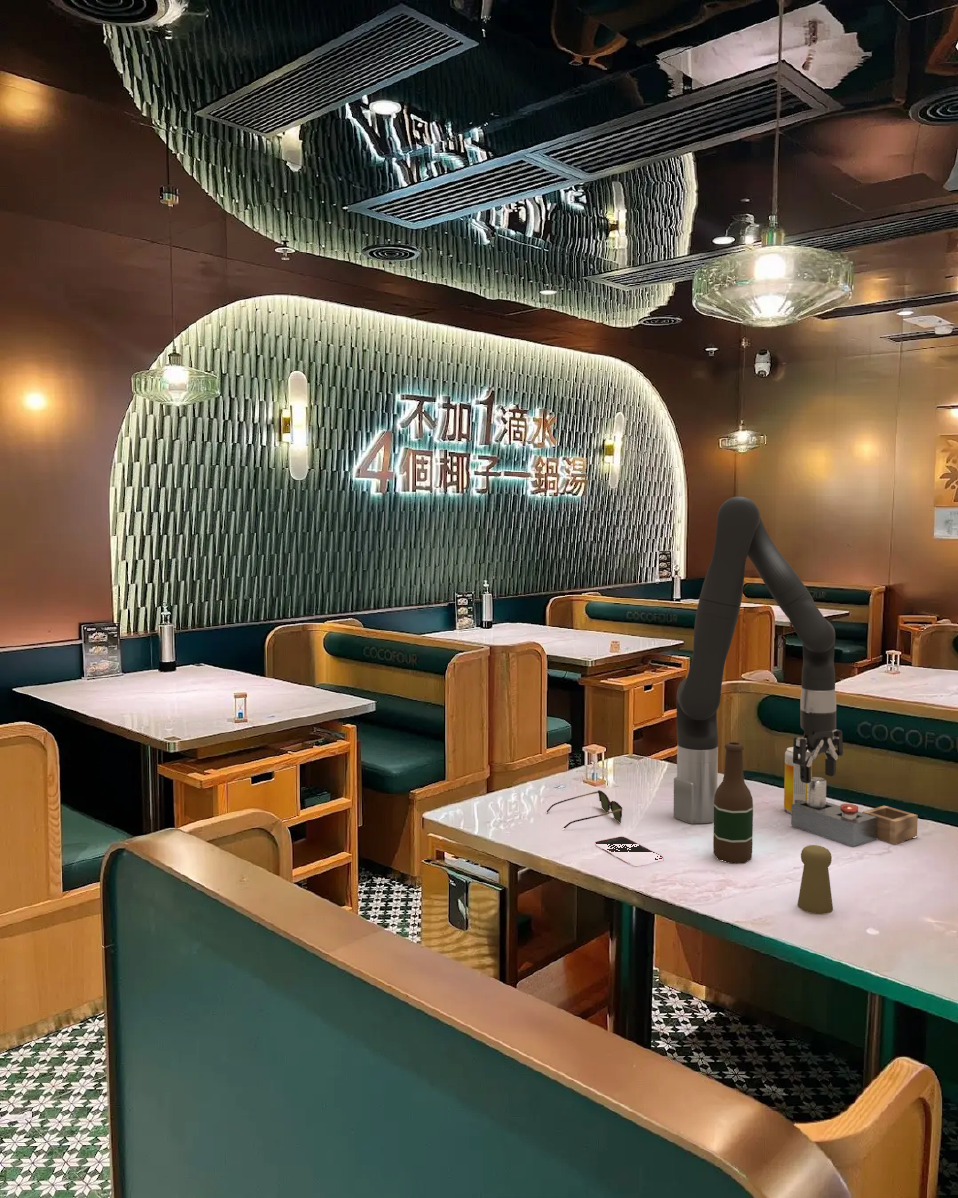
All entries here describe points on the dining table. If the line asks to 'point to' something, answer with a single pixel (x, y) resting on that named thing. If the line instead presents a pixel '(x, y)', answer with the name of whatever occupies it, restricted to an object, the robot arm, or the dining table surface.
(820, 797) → the gray round-topped cylinder
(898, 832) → the wooden hollow square frame
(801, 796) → the beer can
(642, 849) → the cell phone
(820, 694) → the robot arm
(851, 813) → the copper-capped cylinder
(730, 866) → the dining table surface
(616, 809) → the sunglasses
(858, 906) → the dining table surface
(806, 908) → the olive knobbed peg
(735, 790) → the beer bottle
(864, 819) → the socket block
